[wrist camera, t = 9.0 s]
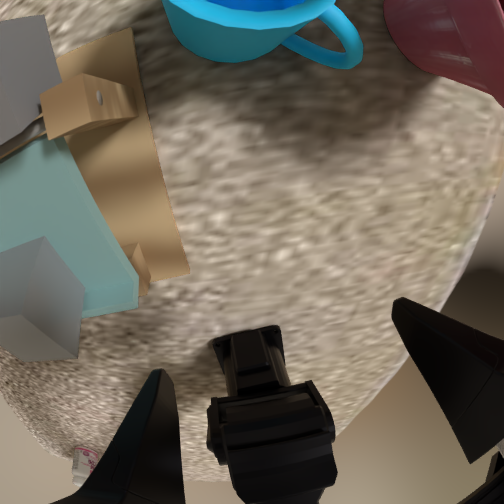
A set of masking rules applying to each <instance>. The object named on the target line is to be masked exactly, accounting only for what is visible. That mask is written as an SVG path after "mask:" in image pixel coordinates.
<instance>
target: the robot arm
mask: <svg viewBox="0 0 504 504" xmlns="http://www.w3.org/2000/svg"><path fill="white" fill-rule="evenodd" d="M391 316H392V321H393V323H394V325H395V327H396V329H397V331H398V333H399V335H400V337H401V339H402V341H403V343H404V345H405V347H406V349H407V351H408V353H409V354H410V356H411V357H412V359H413V361H414V362H415V364H416V366H417V367H418V369H419V371H420V372H421V374H422V375H423V377H424V379H425V381H426V382H427V384H428V386H429V387H430V389H431V391H432V393H433V394H434V396H435V398H436V400H437V401H438V403H439V405H440V407H441V409H442V410H443V412H444V414H445V416H446V418H447V420H448V421H449V424H450V425H451V427H452V429H453V431H454V433H455V435H456V437H457V439H458V441H459V443H460V445H461V447H462V449H463V451H464V453H465V455H466V458H467V460H468V462H469V463H470V464H471V463H473V462H474V461H476V460H477V459H479V458H480V457H481V456H482V455H484V454H485V453H487V452H488V451H489V450H490V449H492V448H493V447H494V446H495V445H496V446H497V447H498V449H499V451H498V452H497V453H496V454H494V455H493V456H492V459H491V463H490V467H489V471H488V475H487V477H486V482H485V483H484V484H483V485H481V486H480V487H479V488H478V489H476V490H475V491H474V492H472V493H471V494H470V495H468V496H467V497H466V498H464V499H463V500H462V501H460V502H459V503H457V504H504V340H501V339H499V338H496V337H493V336H491V335H488V334H486V333H484V332H481V331H479V330H477V329H474V328H472V327H470V326H468V325H466V324H464V323H461V322H459V321H457V320H455V319H453V318H450V317H448V316H446V315H443V314H441V313H439V312H437V311H435V310H432V309H430V308H428V307H425V306H423V305H421V304H419V303H416V302H414V301H412V300H409V299H407V298H405V297H401V298H398V299H396V300H394V302H393V307H392V314H391ZM274 330H276V331H274ZM212 343H213V348H214V350H215V353H216V356H217V358H218V361H219V363H220V365H221V368H222V370H223V373H224V375H225V378H226V385H227V392H228V397H221V398H217V397H212V398H211V405H209V408H208V409H207V418H208V430H207V441H206V444H207V449H209V450H210V451H211V452H213V453H214V455H215V457H216V458H217V460H218V463H219V465H220V466H222V465H228V468H229V472H230V477H231V481H232V485H233V488H234V490H235V491H236V493H237V495H238V496H239V498H241V500H242V501H243V502H244V503H245V504H319V499H320V498H321V496H322V493H323V492H324V490H325V488H327V487H330V486H333V485H334V483H335V480H336V477H337V473H338V472H337V468H336V464H335V460H334V456H333V451H332V445H331V443H333V442H334V441H335V425H334V421H333V417H332V414H331V412H330V410H329V408H328V406H327V404H326V403H325V401H324V400H323V398H322V396H321V395H320V393H319V392H318V390H317V388H316V387H315V385H314V384H313V382H312V380H309V381H305V383H300V384H296V385H291V383H290V380H289V377H288V374H287V371H286V368H285V357H284V350H283V343H282V335H281V330H280V327H279V326H278V325H274V326H270V327H266V328H262V329H257V330H253V331H249V332H245V333H240V334H236V335H231V336H227V337H222V338H217V339H214V340H213V342H212ZM217 343H219V344H217ZM50 504H186V503H185V494H184V484H183V473H182V461H181V447H180V429H179V417H178V410H177V404H176V397H175V391H174V384H173V382H172V380H171V378H170V377H169V376H168V374H167V373H166V371H165V370H164V369H162V368H161V369H155V370H153V371H152V372H151V373H150V375H149V377H148V379H147V380H146V382H145V384H144V385H143V387H142V389H141V390H140V392H139V394H138V396H137V397H136V399H135V401H134V402H133V404H132V406H131V408H130V409H129V411H128V413H127V415H126V416H125V418H124V420H123V422H122V423H121V425H120V427H119V429H118V430H117V432H116V434H115V436H114V437H113V441H111V442H110V444H109V446H108V448H107V449H106V451H105V453H104V455H103V456H102V458H101V459H100V461H99V462H98V464H97V465H96V467H95V468H94V470H93V471H92V472H91V474H90V475H89V477H88V478H87V479H86V481H85V482H84V484H83V485H82V486H81V487H80V489H79V490H78V491H76V492H75V493H74V494H72V495H70V496H68V497H65V498H63V499H61V500H58V501H56V502H53V503H50Z"/></svg>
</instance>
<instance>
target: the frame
mask: <svg viewBox="0 0 504 504" xmlns="http://www.w3.org/2000/svg"><path fill="white" fill-rule="evenodd" d="M56 62H57V66H58V69H59V72H60V75H61V79H62V83H60V84H58V85H56V86H54V87H52V88H50V89H48V90H47V91H45V92H43V93H41V94H39V95H40V101H41V107H42V113H41V114H40V115H39V116H38V117H37V118H35V119H34V120H33V121H32V122H31V123H30V124H29V125H28V126H27V127H26V128H25V129H24V130H23V131H22V132H21V133H19V134H17V135H16V136H14V137H13V138H11V139H9V140H8V141H6V142H5V143H3V144H2V145H0V159H2V158H3V157H5V156H6V155H8V154H10V153H11V152H13V151H15V150H16V149H18V148H20V147H21V146H23V145H25V144H27V143H28V142H30V141H32V140H34V139H36V138H38V137H40V136H41V135H43V134H45V133H47V136H48V140H53V139H56V138H60V137H64V138H65V141H66V143H67V145H68V147H69V150H70V152H71V154H72V156H73V158H74V161H75V163H76V165H77V167H78V169H79V171H80V173H81V175H82V177H83V179H84V181H85V183H86V185H87V187H88V189H89V191H90V193H91V195H92V197H93V199H94V201H95V203H96V205H97V206H98V208H99V210H100V212H101V214H102V216H103V217H104V219H105V221H106V223H107V224H108V226H109V228H110V230H111V231H112V233H113V235H114V237H115V238H116V240H117V242H118V243H119V245H120V247H121V248H122V250H123V252H124V253H125V255H126V257H127V258H128V260H129V261H130V263H131V265H132V266H133V268H134V269H135V271H136V273H137V274H138V276H139V290H138V297H139V296H144V295H147V293H148V288H149V284H150V282H154V281H159V280H163V279H168V278H172V277H176V276H181V275H185V274H190V268H189V265H188V262H187V259H186V255H185V252H184V249H183V246H182V242H181V239H180V236H179V232H178V229H177V226H176V222H175V219H174V215H173V212H172V208H171V205H170V201H169V198H168V194H167V190H166V186H165V183H164V179H163V175H162V171H161V167H160V163H159V159H158V155H157V151H156V147H155V143H154V138H153V134H152V130H151V125H150V121H149V116H148V112H147V107H146V102H145V97H144V92H143V87H142V82H141V76H140V71H139V65H138V59H137V53H136V47H135V41H134V34H133V29H132V28H131V27H130V28H127V29H124V30H121V31H119V32H116V33H113V34H110V35H108V36H105V37H103V38H100V39H98V40H95V41H93V42H90V43H88V44H86V45H84V46H81V47H79V48H77V49H75V50H73V51H71V52H69V53H67V54H65V55H63V56H61V57H59V58H57V59H56Z"/></svg>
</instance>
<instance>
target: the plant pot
mask: <svg viewBox="0 0 504 504" xmlns="http://www.w3.org/2000/svg"><path fill="white" fill-rule="evenodd" d="M383 12H384V18H385V21H386V25H387V28H388V30H389V32H390V35H391V37H392V38H393V40H394V42H395V43H396V45H397V47H398V48H399V49H400V50H401V52H402V53H403V54H404V55H405V56H406V57H407V58H408V59H409V60H410V61H411V62H412V63H413V64H414V65H416V66H417V67H419V68H420V69H422V70H424V71H426V72H429V73H432V74H435V75H439V76H442V77H445V78H448V79H451V80H454V81H457V82H459V83H462V84H465V85H467V86H470V87H473V88H475V89H478V90H480V91H483V92H485V93H488V94H490V95H492V96H493V97H494V98H495V99H496V101H497V102H498V103H499V104H500V105H501V106H502V107H503V108H504V0H384V3H383Z"/></svg>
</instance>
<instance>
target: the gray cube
mask: <svg viewBox="0 0 504 504" xmlns="http://www.w3.org/2000/svg"><path fill="white" fill-rule="evenodd" d="M84 295H85V287H84V286H83V284H82V283H81V282H80V281H79V280H78V278H77V277H76V276H75V275H74V273H73V272H72V271H71V270H70V269H69V267H68V266H67V265H66V263H65V262H64V261H63V260H62V258H61V257H60V256H59V254H58V253H57V252H56V250H55V249H54V248H53V246H52V245H51V244H50V242H49V241H48V239H47V238H46V237H45V236H42V237H40V238H37V239H34V240H31V241H29V242H26V243H23V244H21V245H18V246H16V247H13V248H10V249H8V250H5V251H3V252H0V346H1V347H2V348H4V349H5V350H7V351H8V352H9V353H11V354H12V355H14V356H15V357H17V358H18V359H20V360H21V361H23V362H36V361H53V360H66V359H78V349H79V337H80V326H81V317H82V309H83V302H84Z"/></svg>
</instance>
